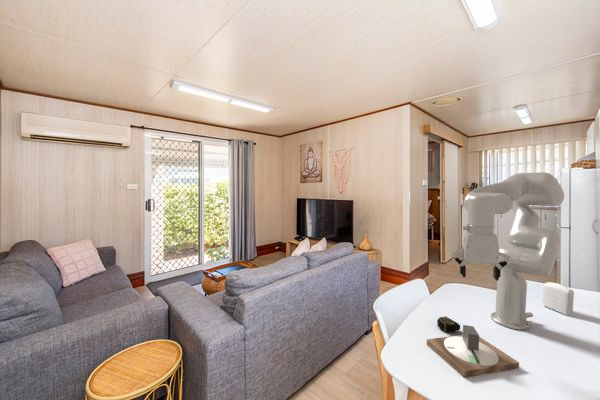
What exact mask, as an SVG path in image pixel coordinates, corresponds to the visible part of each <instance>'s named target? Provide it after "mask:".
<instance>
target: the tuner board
mask: <svg viewBox="0 0 600 400" xmlns="http://www.w3.org/2000/svg"><path fill="white" fill-rule="evenodd" d="M453 336H454V335H451V336H443V337H434V338H428V339H426V346H427V347H429V348H430V350H432V351H433V352H434V353H435V354H436V355H438V356H439V358H441V359H442V360H443V361H444V362H446V363H447V364H448V365H449V366H450V367H451V368H452V369H454V370H455V371H456V373H458V375H460V376H461V377H462V378H464V379H466V378H473V377H478V376H479V377H480V376H483V375H489V374H496V373H497V374H498V373H502V372H507V371H513V370H519V368H520V362H519V361H518V360H517V359H515V358H513V357H512V356H510V355H509V354H507V353H506V352H504V351H502V350H501V349H499V348H497V347H496V346H495V345H494V344H491V343H490V342H489V341H487V340H485V339H484V338H483V337H481V336H479V342H481V343H483V344H485V345H486V346H488V347H490V348H491V349H492V350H493V351H494V352H495V353H496V354H497V356H498V359H499V360H498V363H497V364H495V365H492V366H480V365H475V364H472V363H468V362H466V361H463V360H461V359H459V358H457V357H456V356H454V355H453V354H451V353H450V352H449V351H448V350H447V349H446V347H445V345H444V341H445V339H446V338H448V337H453ZM456 336H459V337H463V334H458V335H457V334H456Z"/></svg>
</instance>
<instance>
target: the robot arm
mask: <svg viewBox="0 0 600 400" xmlns="http://www.w3.org/2000/svg"><path fill="white" fill-rule="evenodd" d="M564 200H565V192H564V189H563V188H562V186H561V184H560V182H559V181H558V180H557V178H556V177H555V176H554V175H552V174H551V173H549V172H543V171H541V172H519V173H515V174H512V175H511V176H509V177H508V178H506V179H504V180H503V181H500V182H497V183H496V182H495V183H492V184H491V183H490V184H488V185H487V184H486V185H484V186H479V187H476V188H474V189H472V190H471V191H469V192H468V193H467V194H466V196H465V197H464V199H463V206H464V208H465V210H466V211H467V224H466V225H465V226H462V230H463V231H466V232H465V234H464V237H463V245H462V248H460V249H457V250H454V251H452V252H451V255H452V258H453V259H454V261H455V262H456V263H457V264H458V265H459V274H461V276H462V277H463V278H466V276H467V272H466V271H467V268H466V265H467V264H468V263H471V264H480V265H481V264H483V265H494V266H493V276H492V277H493V279H494V280H495V281H496V295H495V296H496V297H495V311H494V312H492V313H490V318H491V319H492V320H493V321H494V323H496V324H498V325H500V326H503V327H506V328H509V329H513V330H520V331H521V330H522V331H526V330H529V329H530V328H531V327H530V326H531V324H530V323H529V321H528V320H527V319H528V318H533V317H534V314H533V313H532V312H531V311H527V312H526V309H527V293H528V291H527V290H528V282H527V280H526V278H525V276H524V275H523V274H527V275H532V276H535V277H536V276H537V277H541V278H547V277H549V276H550V275H551V273H552V272H553V269H554V268H555V267H554V265H555V263H556V259H557V255H558V252H559V248H560V243H561V240H560V238H561V237H560V234H559V232H558V231H557V230H555V229H554V228H549V227H542V226H539V225H540V221H541V218H540V216H539V214H538V213H537V211H535V210H534V209H533V208H532V207H531V206H534V207H535V206H537V207H539V206H540V207H558V206H560V205H561V204H562V203H563V201H564ZM511 210H512V211H513V218H512V221H511V223H510V226H509V230H508V232H507V237H506V238H507V243H508V244H510V245H511V246H509V245H505V246H501V247H499V245H500V244H499V237H498V234H495V215H505V214H507V213H509V212H510V211H511ZM461 254H462V258H461V259H460V258H459V257H458V255H461ZM522 273H523V274H522Z"/></svg>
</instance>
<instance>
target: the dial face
mask: <svg viewBox="0 0 600 400" xmlns="http://www.w3.org/2000/svg"><path fill="white" fill-rule="evenodd" d="M452 336H453V337H449V336H447V337H448V338H446V339H445V341H444V345H445V347H446V349H447V350H448V351H449V352H450V353H451V354H453V355H454V356H456V357H457V358H459V359H461V360H463V361H466V362H468V363H472V364H475V365H480V366H492V365H495V364H497V363H498V360H499V359H498V356H497V354H496V353H495V352H494V351H493V350H492V349H491V348H490V347H488V346H486V345H485V344H483V343H481V342H479V351H477V350H474V352H475V354H476V356H477V357H478V359H479V363H477V362H476V360H475V358H474V356H473V355H472V353H471V351H470V350H468V349H467V348H466V345H465V343H464V341H463V337H459V336H457V335H452Z"/></svg>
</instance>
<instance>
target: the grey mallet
mask: <svg viewBox="0 0 600 400" xmlns="http://www.w3.org/2000/svg"><path fill="white" fill-rule="evenodd" d="M462 335H463V341H464V343H465V345H466V348H467V349H468V350H470V351H471V353H472V355H473V356H474V358H475V360H476V362H477V363H479V359H478V357H477V356H476V354H475V352H474V350H477V351H479V337H480V334H479V333H478V331H477V330H476V328H475V326H473V325H468V324H467V325H466V324H463V325H462Z"/></svg>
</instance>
